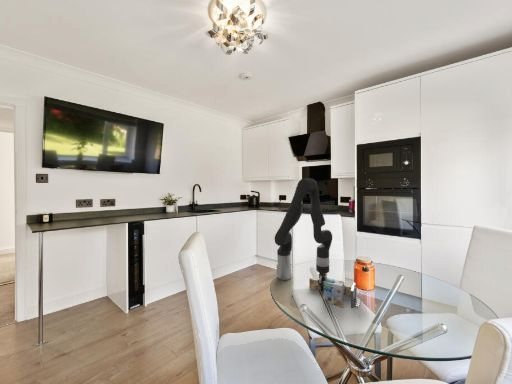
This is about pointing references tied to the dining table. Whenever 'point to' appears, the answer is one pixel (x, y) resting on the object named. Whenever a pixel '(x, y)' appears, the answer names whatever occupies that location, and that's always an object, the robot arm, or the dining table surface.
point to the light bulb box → (333, 290)
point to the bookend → (354, 301)
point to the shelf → (347, 292)
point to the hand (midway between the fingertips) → (322, 290)
